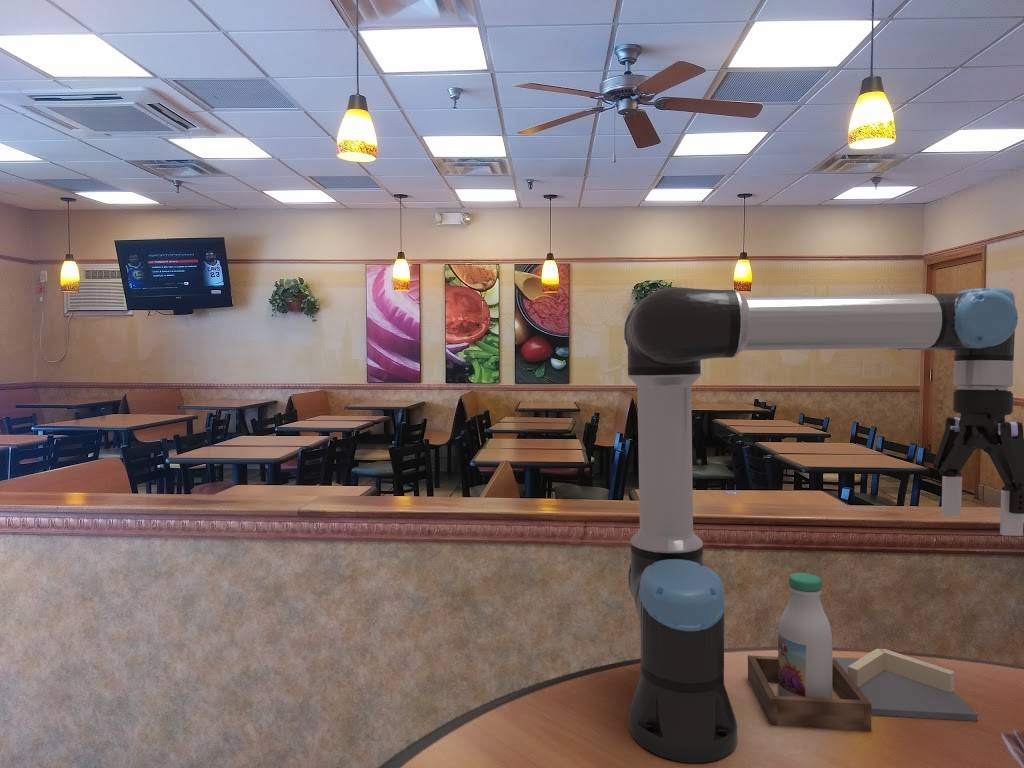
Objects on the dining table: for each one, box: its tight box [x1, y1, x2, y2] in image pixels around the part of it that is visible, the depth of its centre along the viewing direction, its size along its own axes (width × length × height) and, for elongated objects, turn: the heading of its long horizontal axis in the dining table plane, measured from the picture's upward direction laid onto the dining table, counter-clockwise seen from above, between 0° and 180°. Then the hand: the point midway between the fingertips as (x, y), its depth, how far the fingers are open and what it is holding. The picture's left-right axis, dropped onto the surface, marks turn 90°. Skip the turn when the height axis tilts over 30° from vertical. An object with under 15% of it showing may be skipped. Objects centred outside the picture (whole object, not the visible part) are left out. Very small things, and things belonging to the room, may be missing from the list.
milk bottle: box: [777, 572, 833, 699], centre depth 100 cm, size 8×8×20 cm
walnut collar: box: [747, 655, 872, 732], centre depth 100 cm, size 14×14×4 cm
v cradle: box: [832, 647, 978, 722], centre depth 104 cm, size 16×17×4 cm
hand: (979, 525), depth 100 cm, fingers open, 13 cm apart
